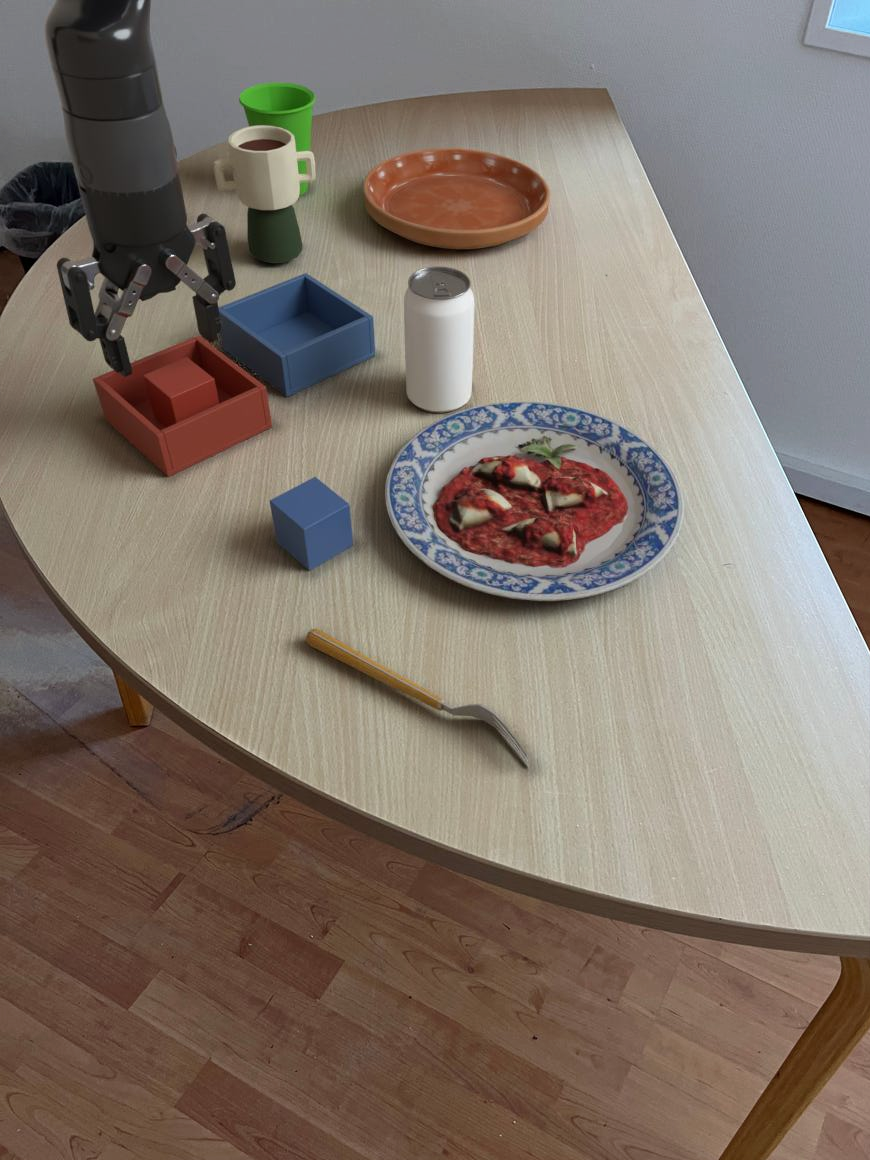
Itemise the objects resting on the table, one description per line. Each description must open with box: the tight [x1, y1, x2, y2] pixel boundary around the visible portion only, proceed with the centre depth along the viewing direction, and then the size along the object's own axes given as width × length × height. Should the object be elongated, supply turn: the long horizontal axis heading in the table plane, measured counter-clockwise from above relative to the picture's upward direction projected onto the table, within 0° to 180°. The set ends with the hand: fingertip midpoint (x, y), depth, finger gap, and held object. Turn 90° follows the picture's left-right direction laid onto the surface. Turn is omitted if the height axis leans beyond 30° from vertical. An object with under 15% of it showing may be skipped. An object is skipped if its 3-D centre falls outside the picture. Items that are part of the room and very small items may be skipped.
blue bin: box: [218, 272, 376, 398], centre depth 97 cm, size 11×11×4 cm
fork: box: [306, 628, 530, 768], centre depth 70 cm, size 2×2×20 cm
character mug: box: [213, 125, 317, 264], centre depth 107 cm, size 11×7×13 cm, turn 108°
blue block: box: [269, 476, 354, 571], centre depth 79 cm, size 5×5×5 cm
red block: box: [143, 357, 219, 427], centre depth 88 cm, size 5×5×5 cm
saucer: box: [362, 147, 551, 250], centre depth 118 cm, size 23×23×4 cm
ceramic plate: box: [384, 400, 685, 602], centre depth 83 cm, size 26×26×3 cm
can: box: [403, 266, 475, 414], centre depth 90 cm, size 6×6×12 cm
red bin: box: [92, 334, 273, 478], centre depth 89 cm, size 11×11×4 cm
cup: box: [238, 82, 316, 197], centre depth 119 cm, size 9×9×11 cm
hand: (167, 354), depth 85 cm, fingers open, 8 cm apart
